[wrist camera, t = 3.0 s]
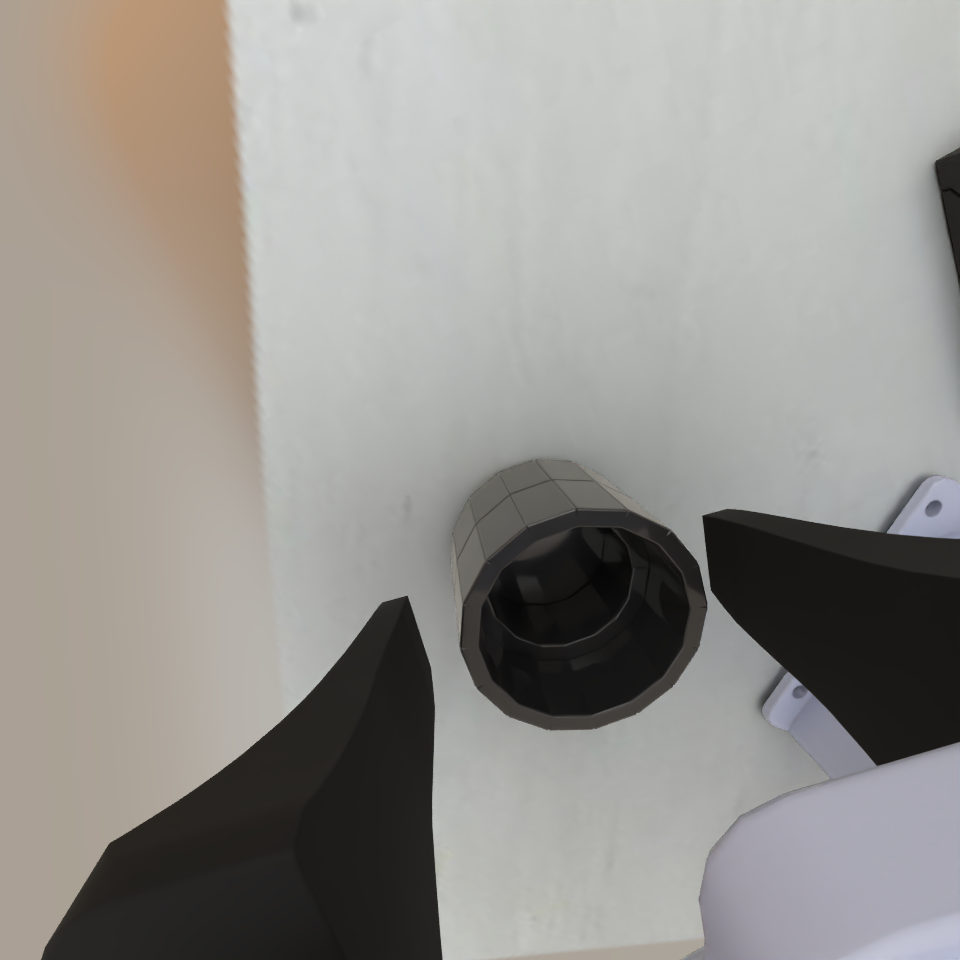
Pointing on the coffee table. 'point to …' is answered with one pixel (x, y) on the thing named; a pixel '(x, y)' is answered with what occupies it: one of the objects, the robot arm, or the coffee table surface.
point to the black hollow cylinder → (571, 597)
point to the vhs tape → (951, 196)
